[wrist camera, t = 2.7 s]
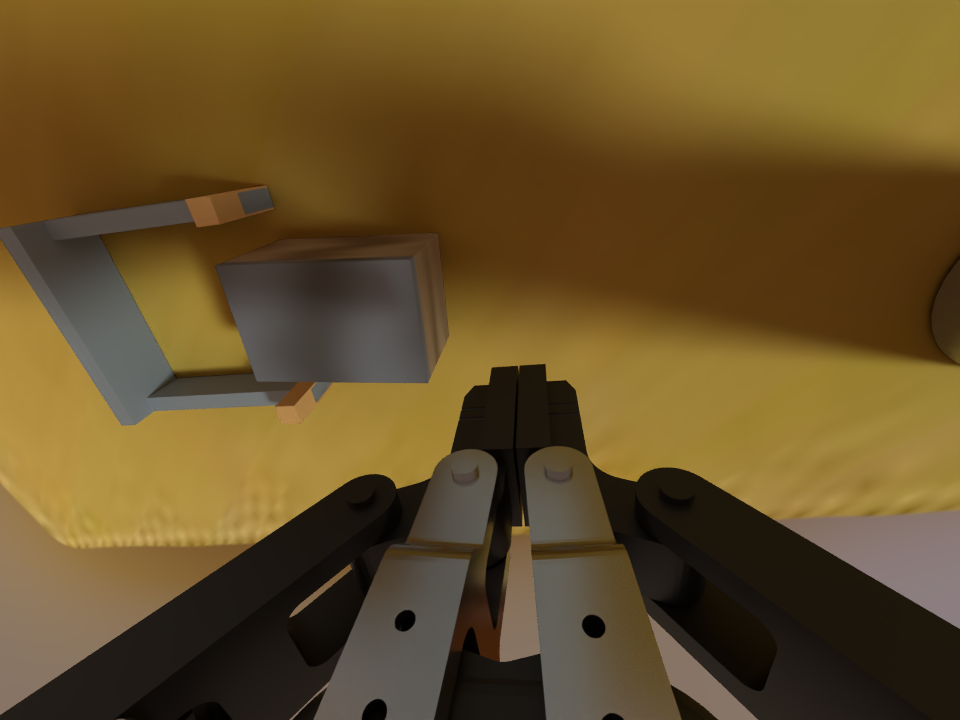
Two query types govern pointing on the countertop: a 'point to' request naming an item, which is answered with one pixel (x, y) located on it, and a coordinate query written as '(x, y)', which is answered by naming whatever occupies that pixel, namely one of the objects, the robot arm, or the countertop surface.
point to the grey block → (340, 308)
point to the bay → (118, 321)
